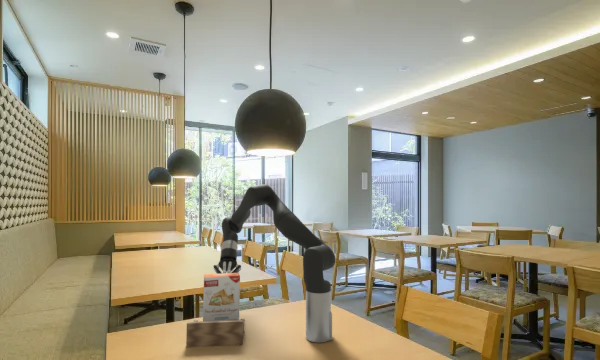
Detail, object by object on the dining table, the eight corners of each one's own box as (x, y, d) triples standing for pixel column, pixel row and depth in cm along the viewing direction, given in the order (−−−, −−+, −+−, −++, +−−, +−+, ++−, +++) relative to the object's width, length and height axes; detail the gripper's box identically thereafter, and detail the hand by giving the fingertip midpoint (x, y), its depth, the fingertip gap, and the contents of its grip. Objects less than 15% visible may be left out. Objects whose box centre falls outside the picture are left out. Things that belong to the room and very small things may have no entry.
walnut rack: (244, 331, 128) (244, 310, 129) (242, 344, 117) (242, 321, 117) (193, 333, 126) (194, 312, 127) (186, 347, 115) (186, 323, 115)
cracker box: (202, 332, 128) (203, 277, 129) (202, 326, 133) (203, 273, 134) (239, 328, 131) (240, 274, 132) (238, 323, 137) (238, 271, 138)
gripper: (214, 247, 156) (209, 280, 143) (242, 247, 157) (240, 280, 144) (215, 256, 161) (210, 289, 148) (243, 256, 162) (241, 289, 149)
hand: (225, 284), depth 146 cm, fingers closed
